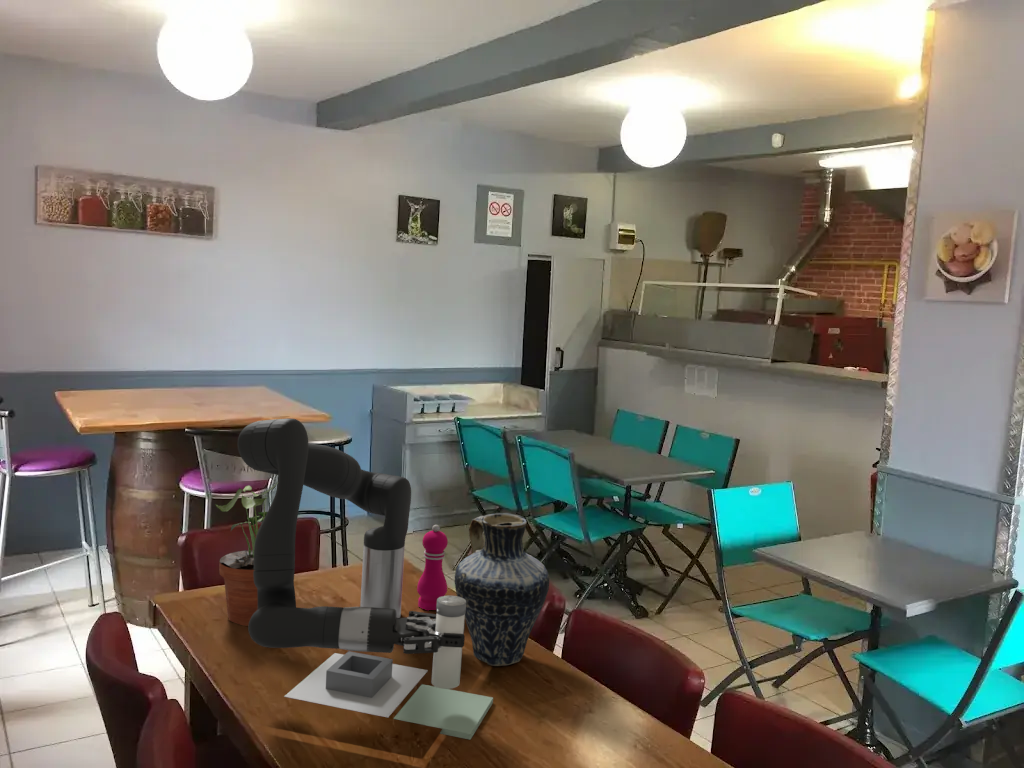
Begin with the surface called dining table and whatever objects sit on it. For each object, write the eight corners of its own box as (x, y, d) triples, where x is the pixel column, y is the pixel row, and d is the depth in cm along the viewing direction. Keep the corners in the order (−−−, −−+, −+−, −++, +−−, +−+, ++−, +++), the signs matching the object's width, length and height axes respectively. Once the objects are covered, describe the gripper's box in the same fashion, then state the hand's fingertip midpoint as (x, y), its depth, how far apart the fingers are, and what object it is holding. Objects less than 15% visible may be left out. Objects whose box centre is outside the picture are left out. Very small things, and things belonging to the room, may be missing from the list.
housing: (334, 657, 169) (335, 636, 169) (427, 675, 165) (429, 653, 164) (283, 701, 150) (284, 677, 150) (387, 722, 145) (389, 698, 145)
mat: (421, 689, 159) (422, 684, 158) (492, 702, 155) (493, 697, 155) (393, 723, 145) (393, 718, 145) (470, 739, 142) (470, 734, 142)
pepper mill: (441, 613, 197) (446, 530, 195) (411, 609, 198) (416, 526, 196) (449, 603, 204) (454, 522, 202) (421, 599, 205) (426, 519, 204)
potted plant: (273, 600, 198) (280, 454, 195) (292, 623, 185) (300, 467, 182) (204, 608, 190) (210, 456, 186) (219, 633, 177) (225, 470, 174)
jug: (562, 662, 175) (573, 521, 172) (497, 689, 161) (508, 536, 158) (491, 630, 189) (500, 500, 186) (426, 653, 175) (435, 512, 172)
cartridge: (436, 673, 152) (442, 593, 151) (463, 679, 151) (470, 598, 150) (426, 685, 147) (432, 603, 146) (454, 691, 146) (461, 607, 145)
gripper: (364, 624, 140) (466, 629, 141) (373, 594, 154) (465, 599, 155) (361, 667, 141) (462, 672, 142) (370, 634, 155) (462, 638, 156)
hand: (463, 634), depth 149 cm, fingers closed on cartridge, 5 cm apart
